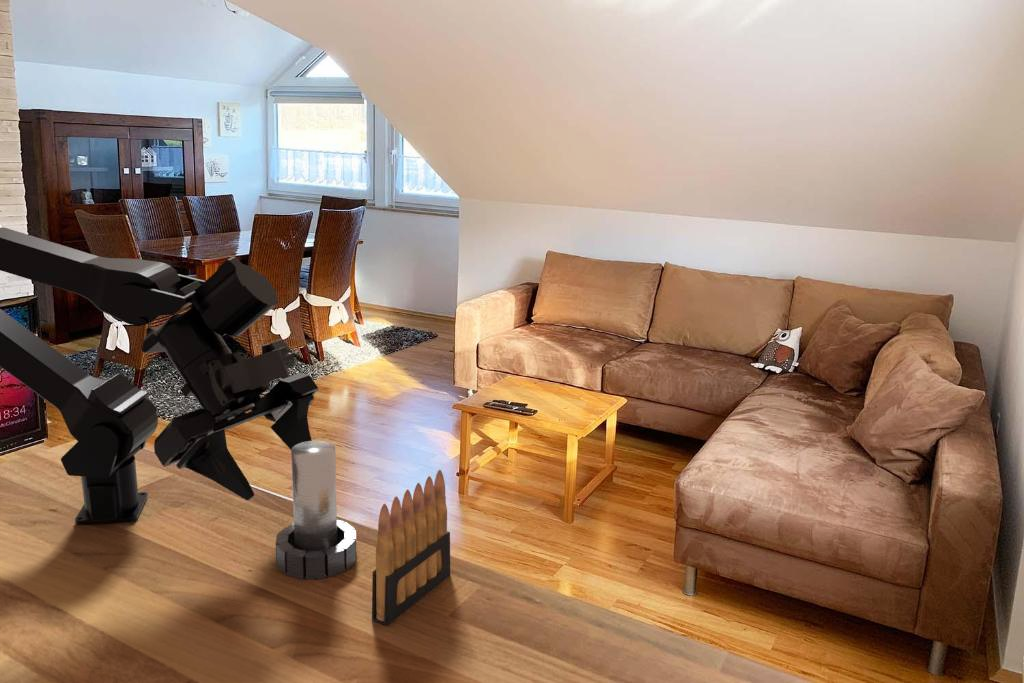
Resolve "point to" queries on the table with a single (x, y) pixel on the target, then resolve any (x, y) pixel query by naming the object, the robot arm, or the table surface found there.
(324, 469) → the silver tall cylinder
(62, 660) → the table surface
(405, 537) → the ammunition clip
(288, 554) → the ring
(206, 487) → the table surface
